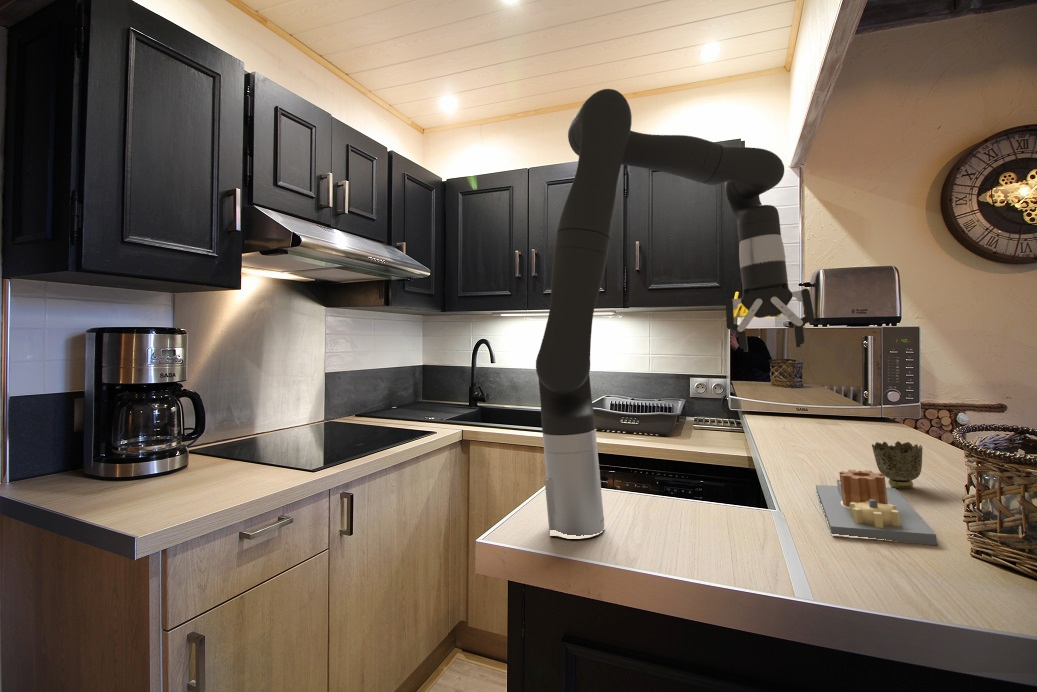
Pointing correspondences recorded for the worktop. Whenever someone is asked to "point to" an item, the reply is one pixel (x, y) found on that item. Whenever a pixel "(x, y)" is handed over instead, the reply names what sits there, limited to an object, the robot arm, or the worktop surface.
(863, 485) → the idler gear
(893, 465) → the cup
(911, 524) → the gear board
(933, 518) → the worktop surface
